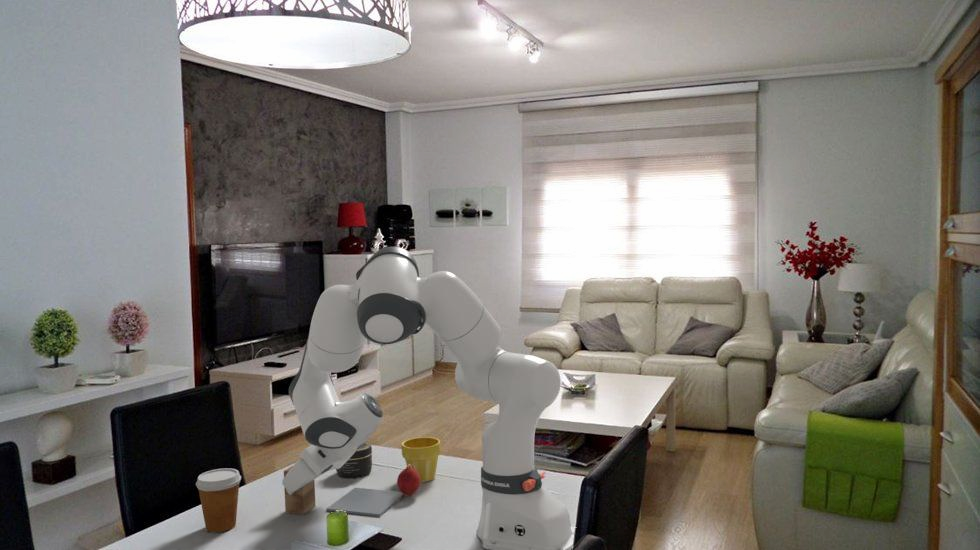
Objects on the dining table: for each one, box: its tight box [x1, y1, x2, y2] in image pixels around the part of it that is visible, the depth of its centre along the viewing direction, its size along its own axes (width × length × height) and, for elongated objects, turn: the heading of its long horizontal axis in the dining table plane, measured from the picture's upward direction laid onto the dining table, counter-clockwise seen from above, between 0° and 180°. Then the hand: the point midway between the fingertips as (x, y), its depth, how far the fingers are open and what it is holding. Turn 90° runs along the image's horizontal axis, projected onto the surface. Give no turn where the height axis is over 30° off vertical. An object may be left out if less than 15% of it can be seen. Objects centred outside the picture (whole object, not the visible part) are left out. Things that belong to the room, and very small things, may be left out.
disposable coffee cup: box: [195, 467, 242, 533], centre depth 154 cm, size 10×10×12 cm
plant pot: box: [401, 436, 442, 483], centre depth 183 cm, size 10×10×10 cm
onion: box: [396, 464, 422, 497], centre depth 170 cm, size 6×6×8 cm
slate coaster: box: [325, 487, 405, 518], centre depth 167 cm, size 14×14×1 cm
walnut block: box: [283, 465, 317, 515], centre depth 163 cm, size 5×5×10 cm
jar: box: [335, 441, 373, 480], centre depth 188 cm, size 10×10×8 cm
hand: (297, 487), depth 163 cm, fingers closed on walnut block, 5 cm apart
